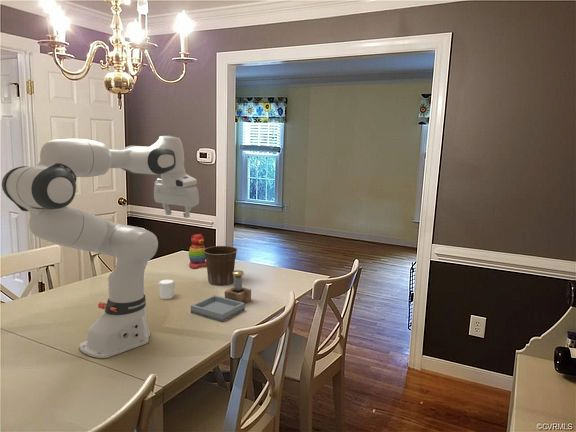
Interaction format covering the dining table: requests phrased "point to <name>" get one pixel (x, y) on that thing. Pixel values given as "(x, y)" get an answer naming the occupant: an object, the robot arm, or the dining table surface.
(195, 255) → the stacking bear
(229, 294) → the pin block
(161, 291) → the white cylinder
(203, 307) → the tray
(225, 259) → the plant pot
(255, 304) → the dining table surface
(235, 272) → the steel pin
